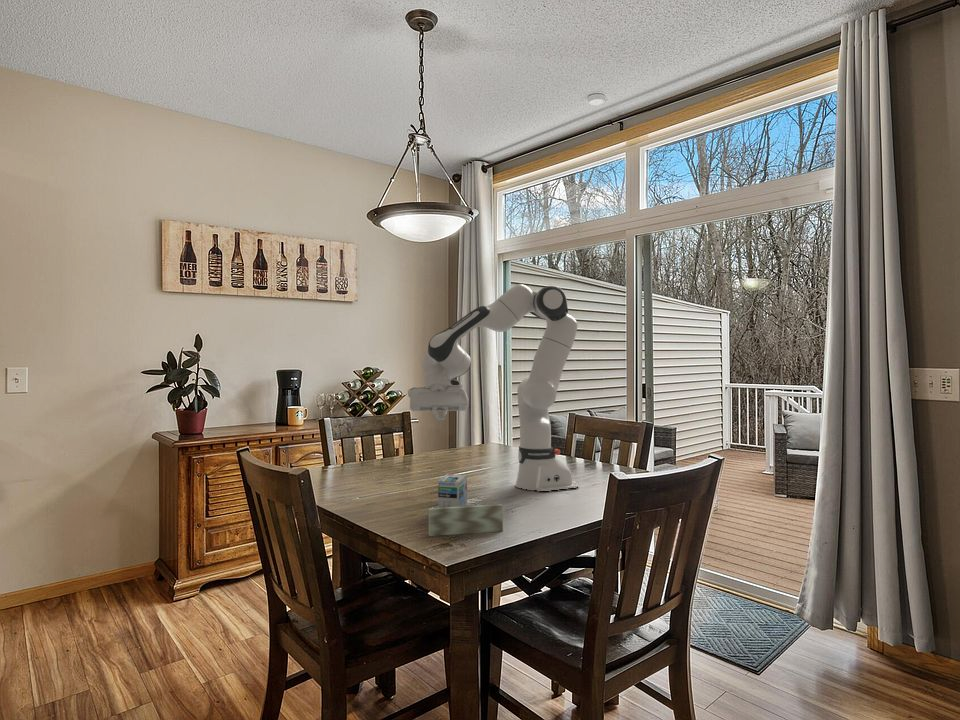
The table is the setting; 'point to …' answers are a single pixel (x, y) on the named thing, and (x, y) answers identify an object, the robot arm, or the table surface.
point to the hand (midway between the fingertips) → (441, 418)
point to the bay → (465, 519)
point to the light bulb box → (452, 490)
